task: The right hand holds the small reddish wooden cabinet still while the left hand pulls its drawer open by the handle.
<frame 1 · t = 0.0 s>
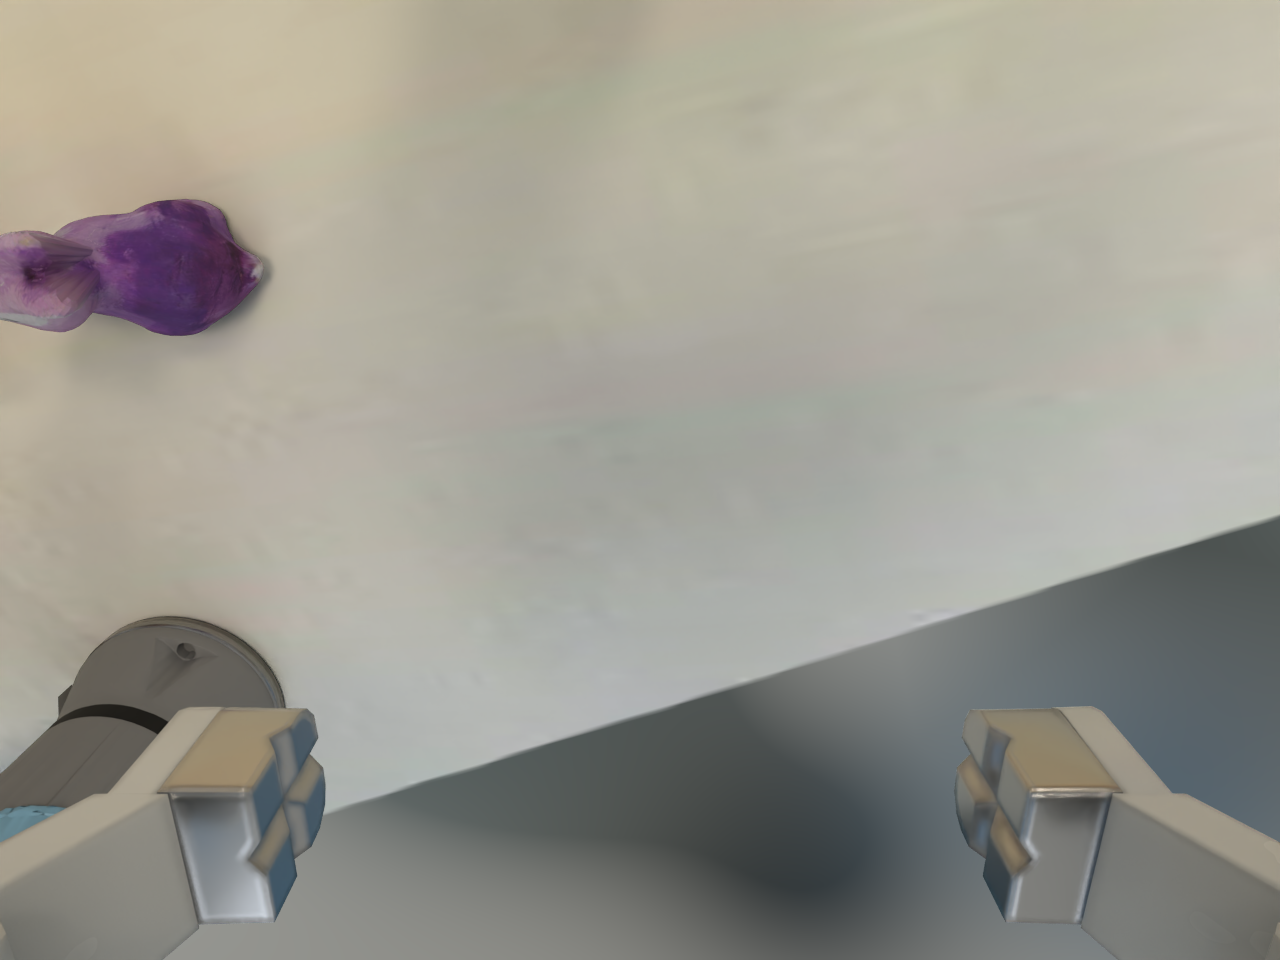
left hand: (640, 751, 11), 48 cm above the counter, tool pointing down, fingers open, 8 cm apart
figurine: (178, 266, 55), on the counter
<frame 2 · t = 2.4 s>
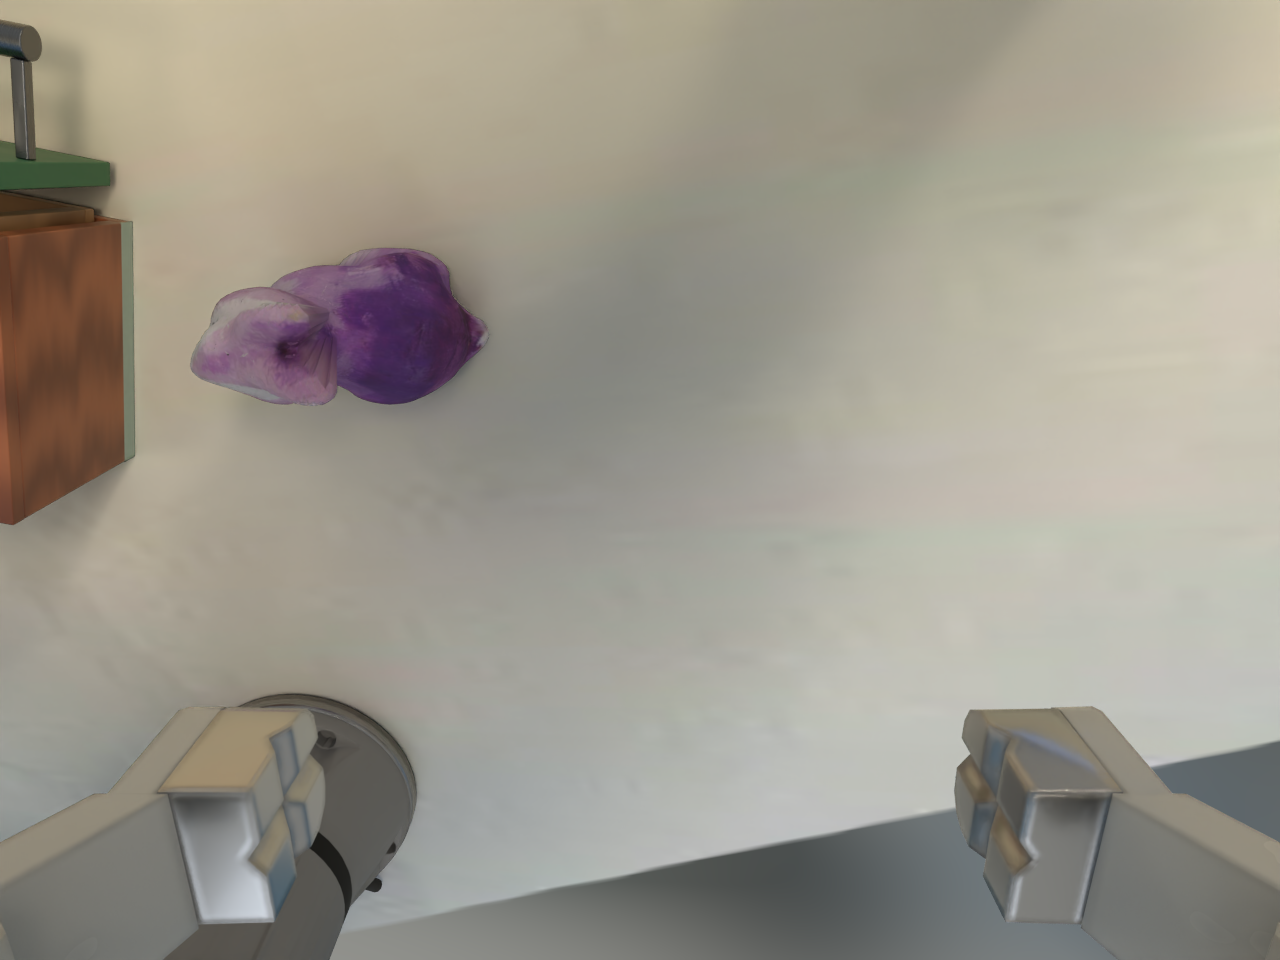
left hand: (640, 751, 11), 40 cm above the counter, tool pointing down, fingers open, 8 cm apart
figurine: (383, 320, 49), on the counter
cabinet: (41, 327, 49), on the counter
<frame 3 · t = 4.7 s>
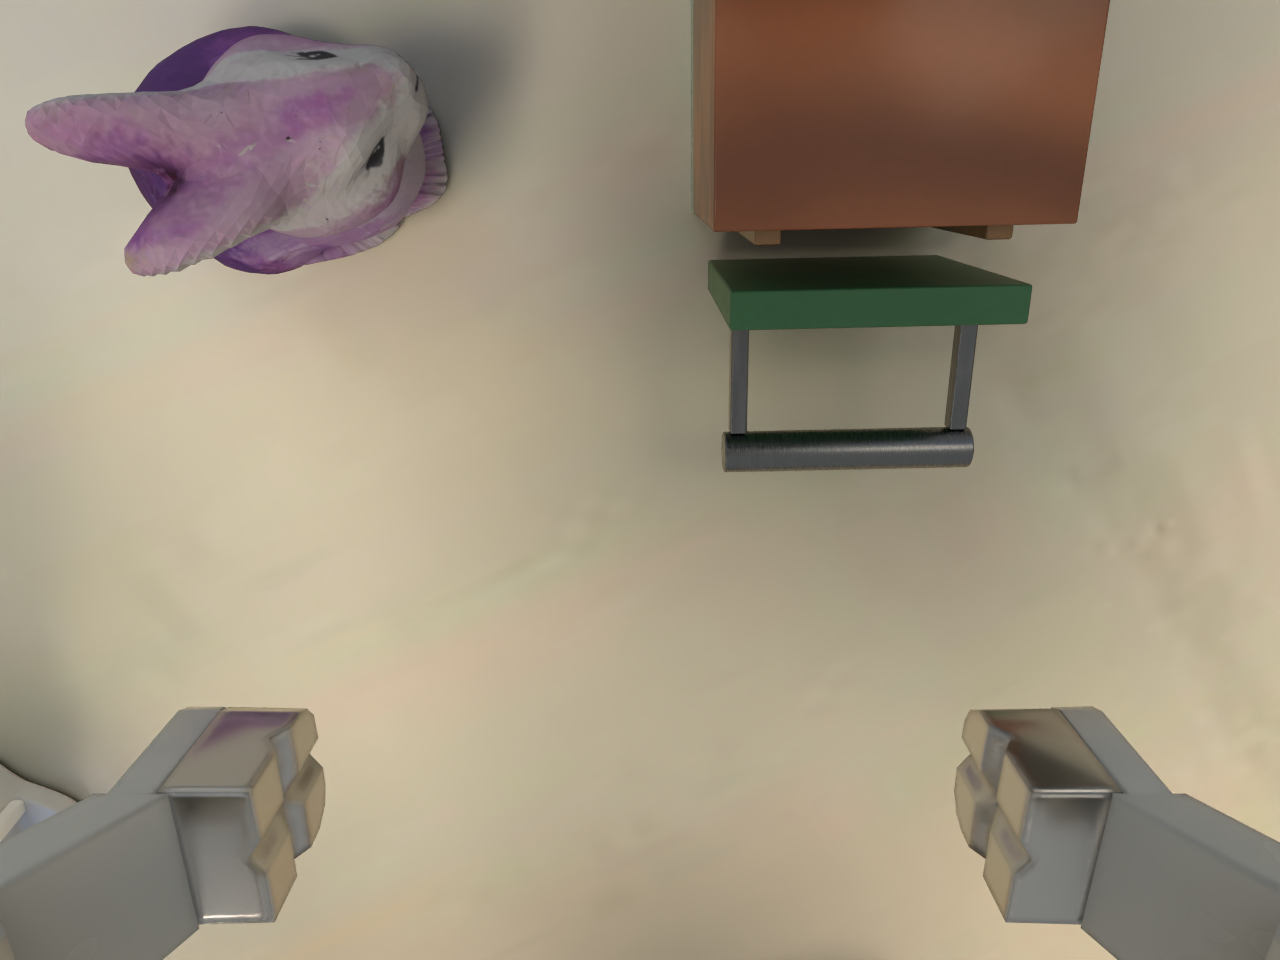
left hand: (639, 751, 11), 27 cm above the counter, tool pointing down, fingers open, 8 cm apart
figurine: (333, 146, 33), on the counter
drawer: (852, 201, 29), point 5 cm above the counter, slide at 1.8 cm
cabinet: (830, 14, 32), on the counter, touching right hand
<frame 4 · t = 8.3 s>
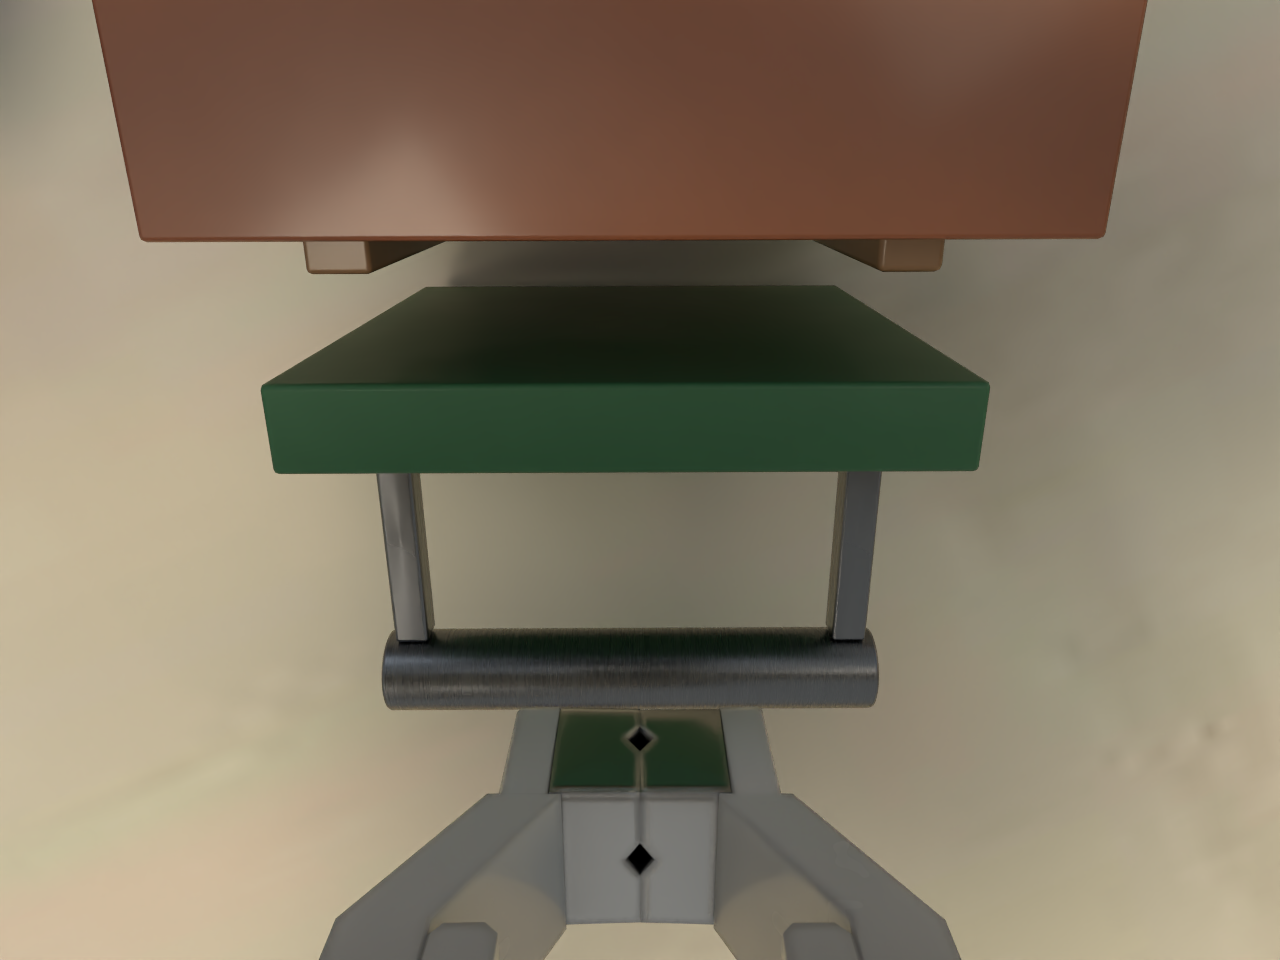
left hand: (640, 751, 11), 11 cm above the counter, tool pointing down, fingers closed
drawer: (627, 180, 14), point 5 cm above the counter, slide at 1.8 cm
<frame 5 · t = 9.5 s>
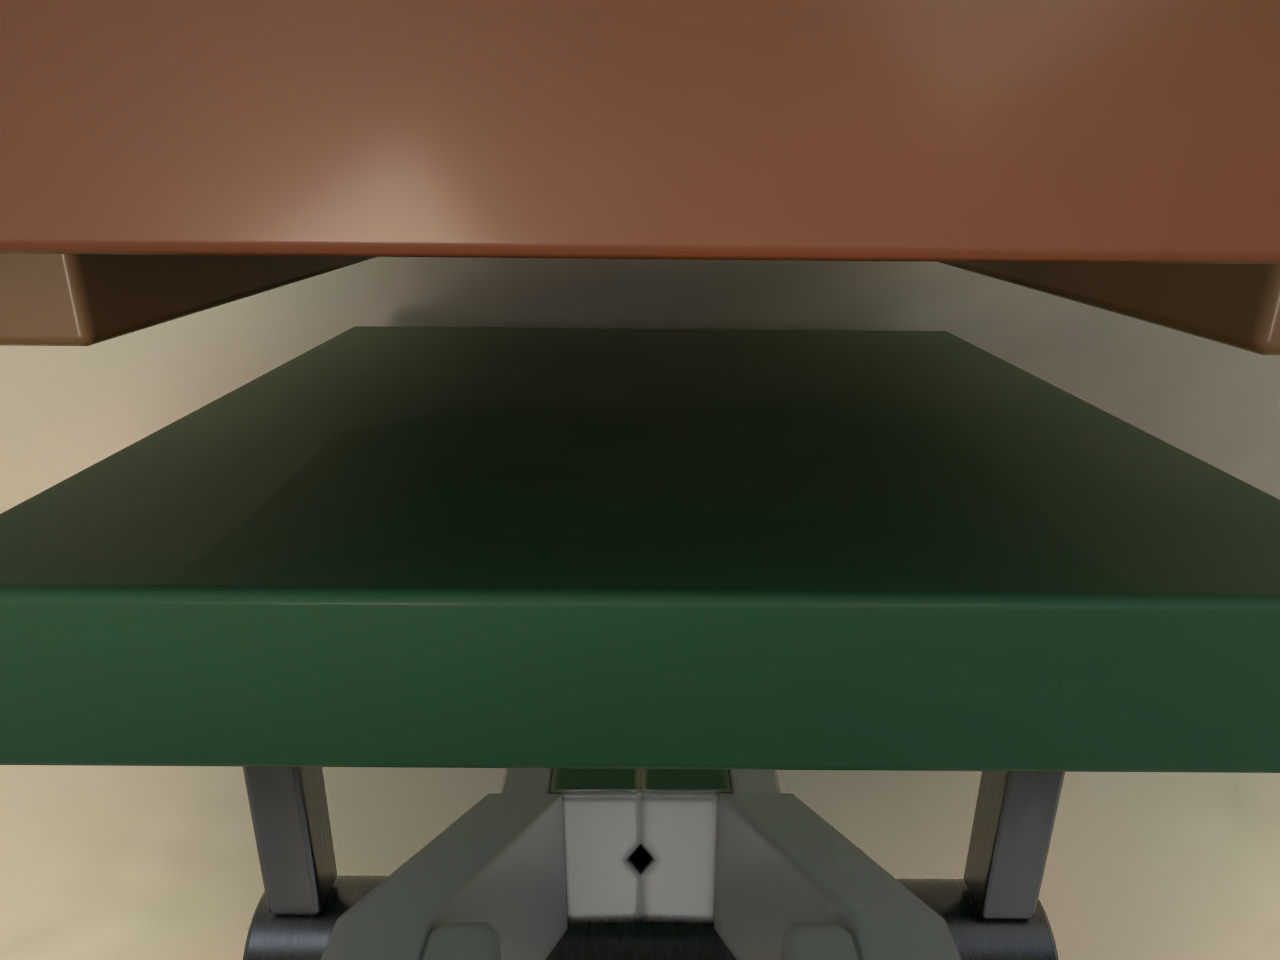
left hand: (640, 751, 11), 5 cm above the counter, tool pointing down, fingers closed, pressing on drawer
drawer: (660, 164, 8), point 5 cm above the counter, slide at 1.9 cm, touching left hand
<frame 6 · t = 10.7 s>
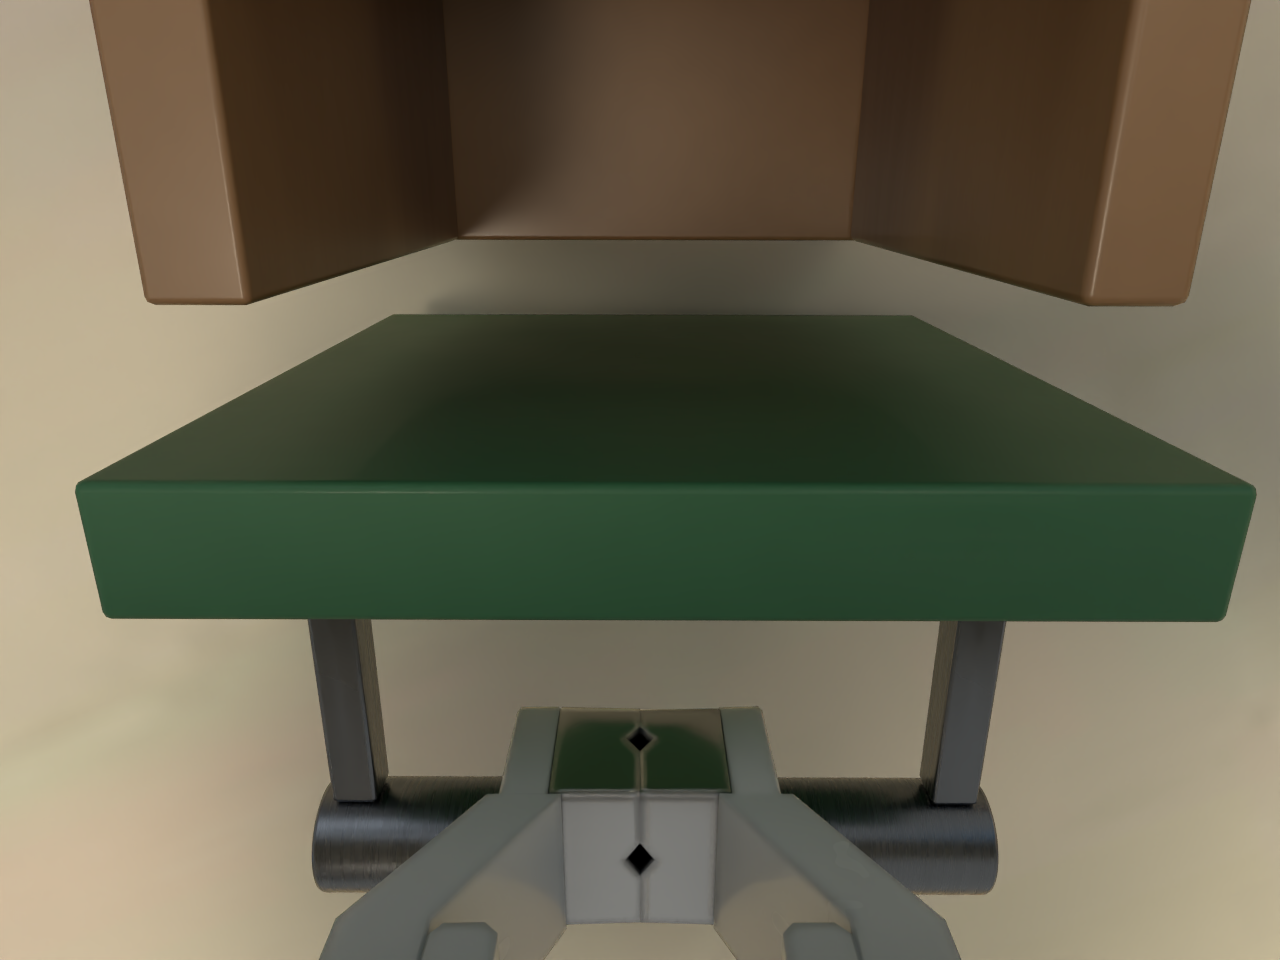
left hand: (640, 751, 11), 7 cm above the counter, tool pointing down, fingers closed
drawer: (657, 171, 10), point 6 cm above the counter, slide at 5.9 cm
when the right hand's fingers open (6 cm above the counter, at t = 12.2 s): cabinet stays where it is, on the counter.
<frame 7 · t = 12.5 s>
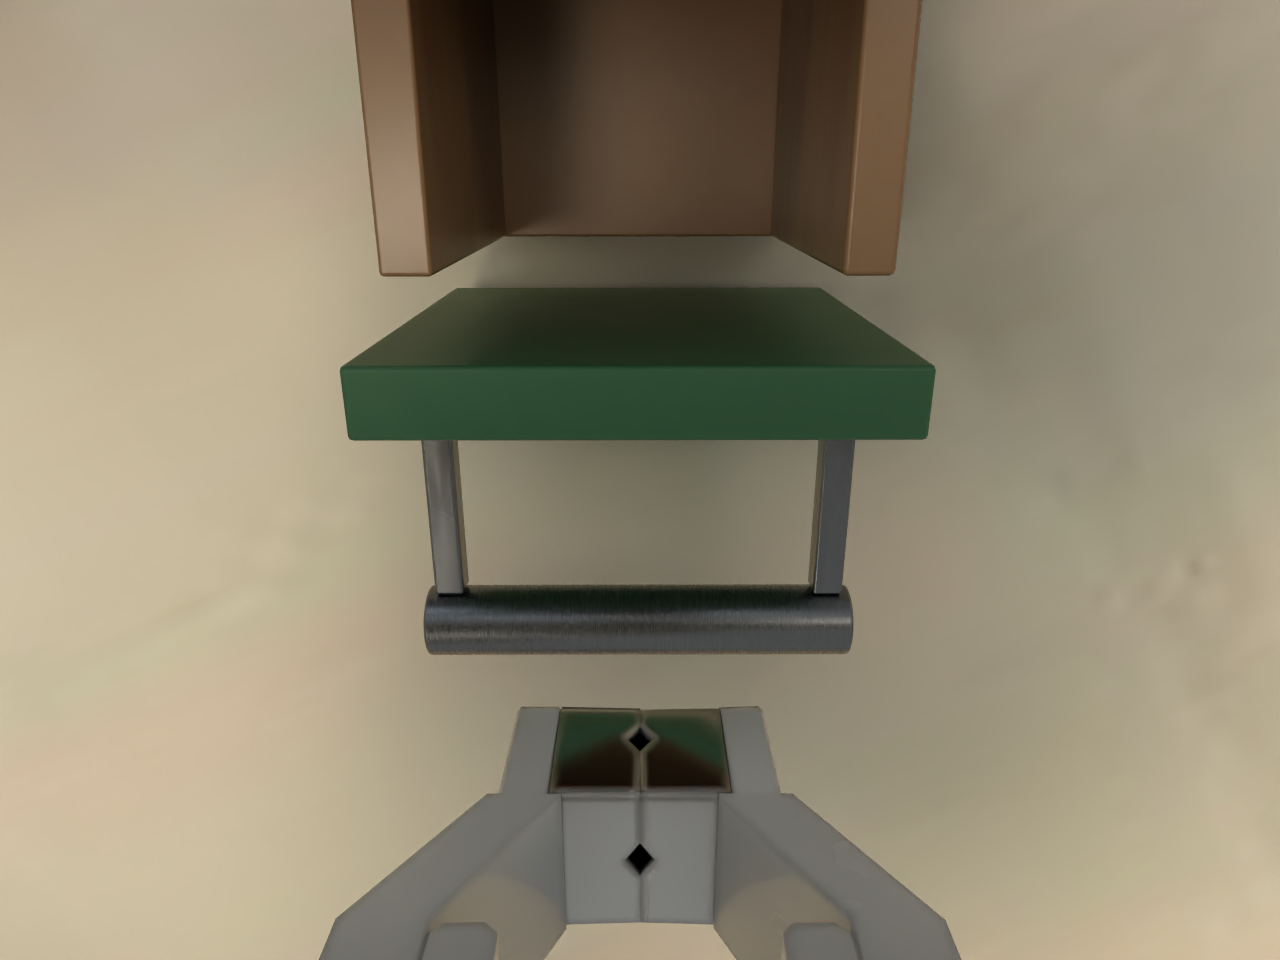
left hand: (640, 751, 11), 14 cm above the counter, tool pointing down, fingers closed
drawer: (637, 197, 16), point 5 cm above the counter, slide at 5.9 cm
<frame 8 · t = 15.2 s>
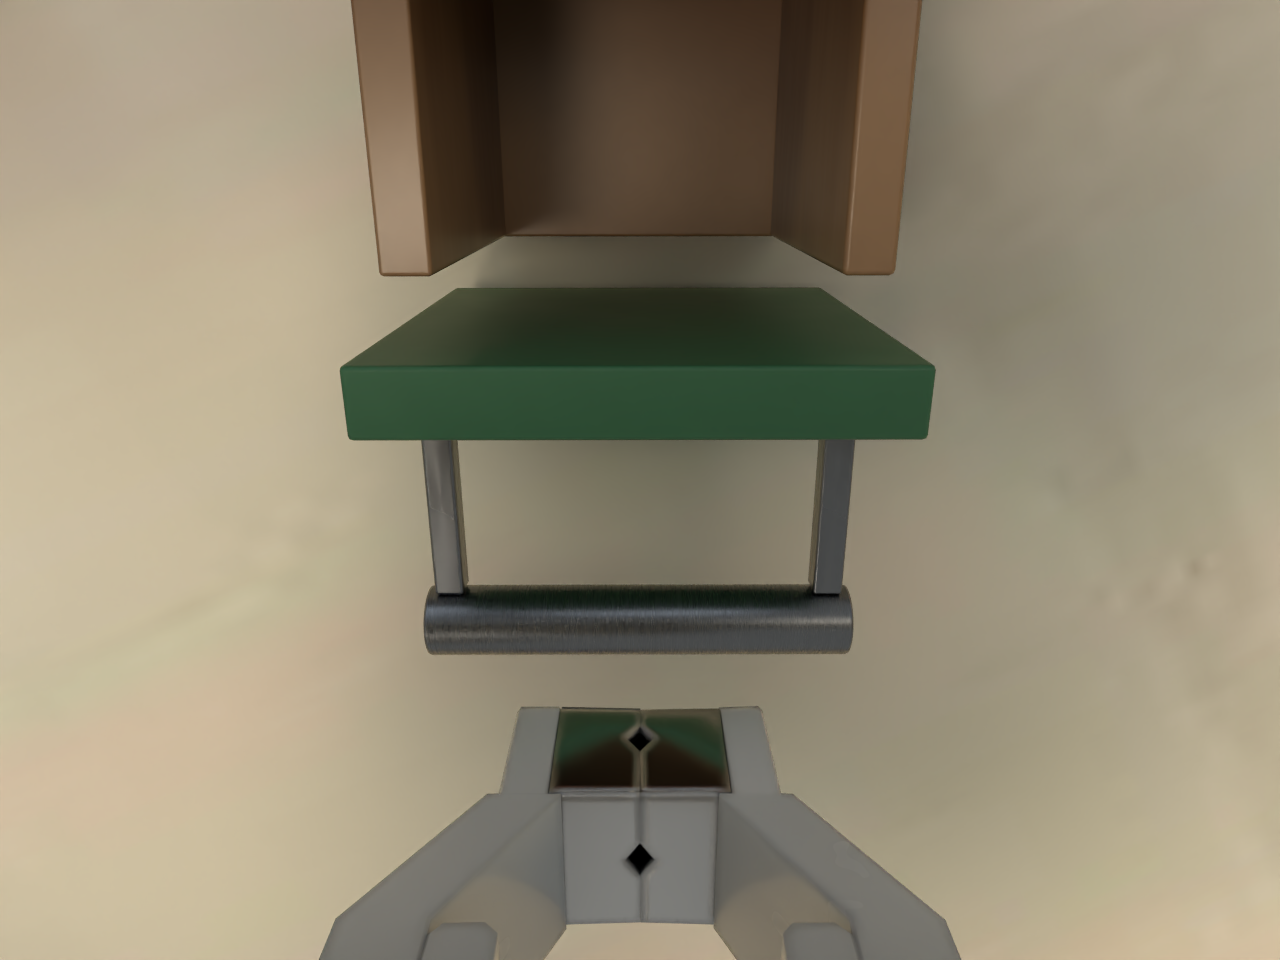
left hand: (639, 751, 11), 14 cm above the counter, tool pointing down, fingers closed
drawer: (637, 196, 16), point 5 cm above the counter, slide at 5.9 cm
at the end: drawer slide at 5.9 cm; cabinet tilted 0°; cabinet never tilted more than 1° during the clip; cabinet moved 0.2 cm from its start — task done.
